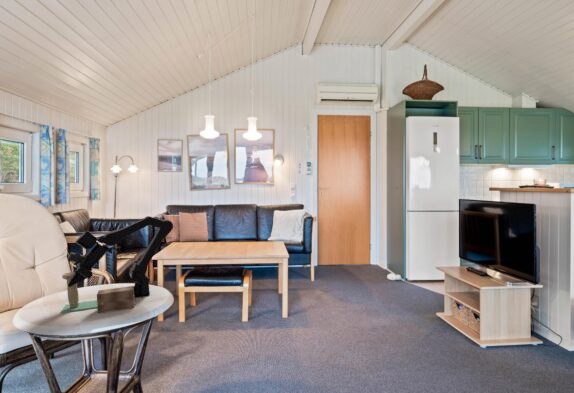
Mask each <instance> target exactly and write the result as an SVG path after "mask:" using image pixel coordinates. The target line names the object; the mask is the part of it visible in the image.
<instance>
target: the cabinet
mask: <svg viewBox="0 0 574 393" xmlns="http://www.w3.org/2000/svg"><path fill="white" fill-rule="evenodd" d="M134 286H135V285H129V286H123V287H115V288H108V289H106V288H105V289H99V290H97V293H96V300H97V307H98V308H97V313H98V314H100V313H101V314H102V313H107V312H114V311H122V310H127V309H133V308H135V296H134Z"/></svg>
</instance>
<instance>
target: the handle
mask: <svg viewBox="0 0 574 393" xmlns="http://www.w3.org/2000/svg"><path fill="white" fill-rule="evenodd" d="M74 275H75V272H73V271H72V272H66V273H63V274H62V279H64V280H66V284H67V302H68V304H70V308H75V307H77V306H79V303H80V301H79V299H80V298H79V290H78V283H76V284H75V285H73V286H71V287H69V286H68V284H69V282H70V281H71V279H72V278H73V276H74Z"/></svg>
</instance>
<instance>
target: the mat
mask: <svg viewBox="0 0 574 393" xmlns="http://www.w3.org/2000/svg"><path fill="white" fill-rule="evenodd" d="M78 303H79V306H77V307H75V308H70V304H69V303H68V304H65V305H64V307H63V308H62V309H61V310H60V314H65V313H67V314H68V313H72V312H73V313H74V312H80V311H87V310H92V309H98V307H97V299H96V300H90V301H79V302H78Z"/></svg>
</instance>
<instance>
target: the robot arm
mask: <svg viewBox="0 0 574 393" xmlns="http://www.w3.org/2000/svg"><path fill="white" fill-rule="evenodd" d="M147 226H153V227H156V230H155V234H154V235H153V238H152V239H151V240H150V243H149V245H148V246H147V248H146V249H145V251H144V253H143V254H142V256H141V257H140V259H139V261H138V262H133V263H132V266H131V267H130V268H129V276H130V278H131V279H132V281H134V285H133V286H134V299H135V298H142V297H149V296H151V295H150V294H151V292H150V278H149V277H148V275H146V273H147V271H148V270H147V269H148V266H149V263H150V262H151V261H152V258H153V257H154V255H155V253H156V252H157V250H158V248H160V247H159V246H160V245H161V243H162V242H163V240H164V239H165V238H166V237H167V236H168V235H169V234H170V233H171V232H172V230H173V228H174V223H173V222H172V221H170V220H168V219H157V218H154V217H152V216H147V215H146V216H145V217H144V218H141V219H140V220H137V221H135V222H133V223H131V224H129V225H126V226H125V227H122V228H119V229H115V230H110V231H108V232H105V233H104V234H103V235H99V236H96V235H93V234H92V232H90V231H89V230H88V229H87V230H86V231H84V233H82V234H81V235H79V236H78V238H76V240H75V241H74V243H76V244H77V245H79V246H80V247H82V248H83V249H84V250H90V251H89V252H88V253H85V254H81V253H78V252H71V251H70V252H69V254H68V256H67V261H69V262H73V263H72V265H73V266H72V269H73V270H72V272H75V275H74V276H73V278H72V279H71V281H70V282H69V284H68V286H69V287H71V286H73V285H75V284H78V283H80V282H83V281H84V280H88V279H91V278H92V277H93V268H94V267H95V266H96V265H98V264H99V263H100V261H101V260H102V258H104V256H105V255H106V254H107V253H109V254H113V246H115V245H116V244H118V243H120V242H121V241H122V240H124V239H125V238H126V237H127V236H130V235H131V234H133V233H137V232H138V231H140V230H141V229H144V228H147Z"/></svg>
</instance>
